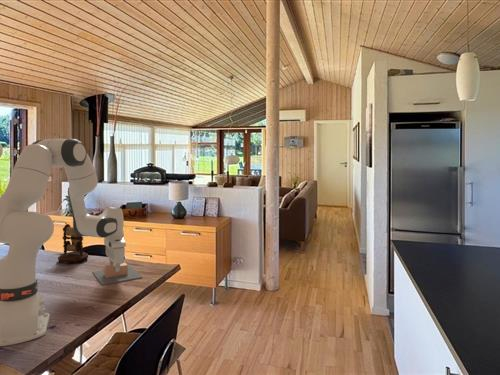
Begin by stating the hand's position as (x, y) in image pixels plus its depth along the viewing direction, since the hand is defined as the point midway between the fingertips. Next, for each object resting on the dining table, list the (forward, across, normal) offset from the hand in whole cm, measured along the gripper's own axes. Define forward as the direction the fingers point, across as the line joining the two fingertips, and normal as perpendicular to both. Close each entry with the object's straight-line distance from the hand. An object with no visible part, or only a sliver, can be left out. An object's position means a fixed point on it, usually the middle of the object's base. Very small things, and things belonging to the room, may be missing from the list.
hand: (114, 268), depth 170 cm
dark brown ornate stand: (+4, -36, -12) cm, 39 cm away
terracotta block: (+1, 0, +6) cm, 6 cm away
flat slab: (+4, 0, +1) cm, 4 cm away
